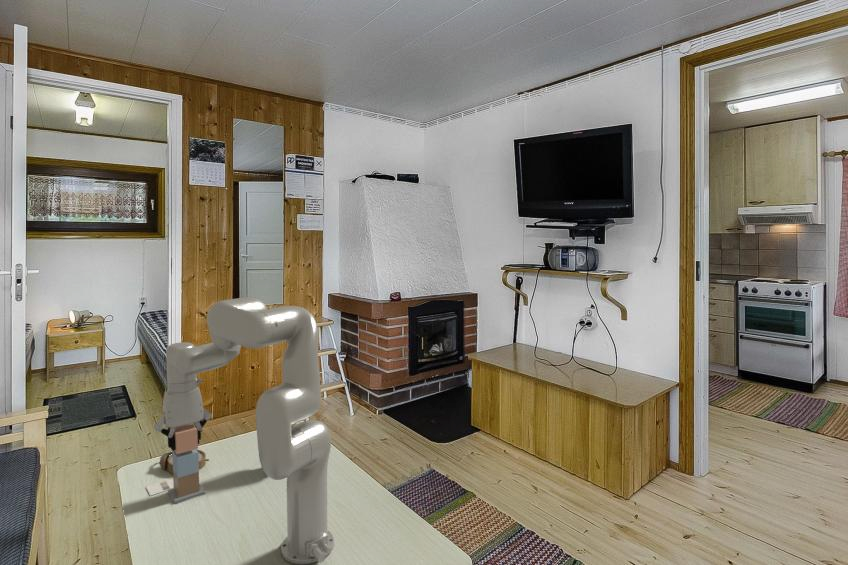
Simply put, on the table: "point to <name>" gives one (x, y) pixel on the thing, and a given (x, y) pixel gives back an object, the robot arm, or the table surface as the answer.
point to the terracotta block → (185, 438)
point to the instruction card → (160, 487)
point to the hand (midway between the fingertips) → (184, 445)
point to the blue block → (185, 463)
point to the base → (177, 500)
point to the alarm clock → (168, 461)
